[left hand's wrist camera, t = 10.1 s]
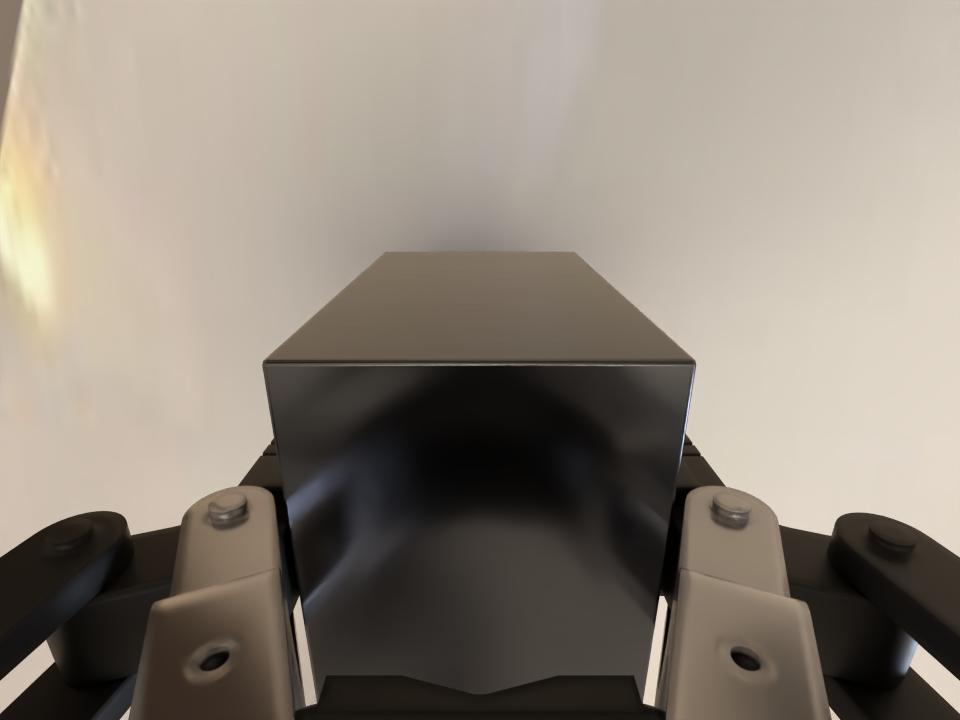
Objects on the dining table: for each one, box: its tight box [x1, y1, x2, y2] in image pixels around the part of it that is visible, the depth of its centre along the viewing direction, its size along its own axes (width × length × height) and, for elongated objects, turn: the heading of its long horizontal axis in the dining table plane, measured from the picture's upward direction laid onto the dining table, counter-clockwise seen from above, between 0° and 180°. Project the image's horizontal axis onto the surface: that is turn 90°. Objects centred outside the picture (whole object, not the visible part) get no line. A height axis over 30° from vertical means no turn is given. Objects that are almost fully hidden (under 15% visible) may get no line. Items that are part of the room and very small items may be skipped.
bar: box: [262, 252, 696, 703], centre depth 15 cm, size 23×6×9 cm, turn 0°
